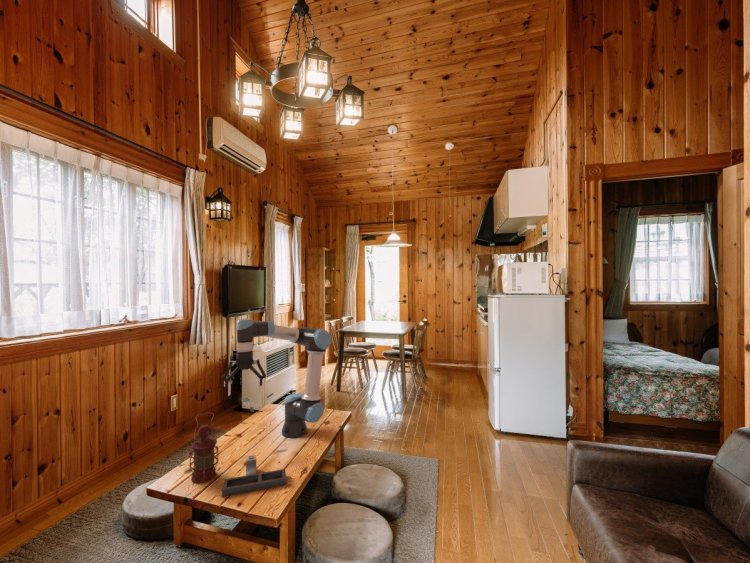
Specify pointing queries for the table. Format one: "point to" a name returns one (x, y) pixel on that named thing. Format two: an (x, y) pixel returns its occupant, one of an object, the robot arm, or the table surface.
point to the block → (251, 465)
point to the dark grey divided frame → (253, 486)
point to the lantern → (203, 455)
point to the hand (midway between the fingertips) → (244, 393)
